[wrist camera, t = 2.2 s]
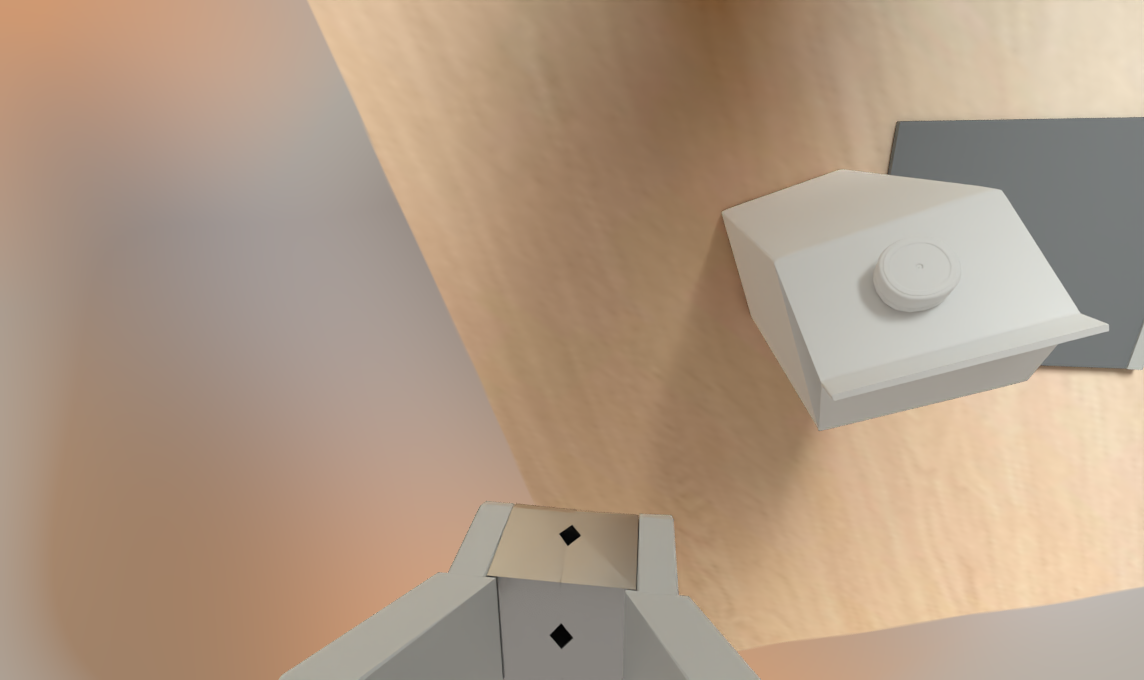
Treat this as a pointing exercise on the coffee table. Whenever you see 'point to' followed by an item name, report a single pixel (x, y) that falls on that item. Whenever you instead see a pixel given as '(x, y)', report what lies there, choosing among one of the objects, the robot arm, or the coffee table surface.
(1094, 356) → the mat
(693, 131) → the coffee table surface
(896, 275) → the milk carton
